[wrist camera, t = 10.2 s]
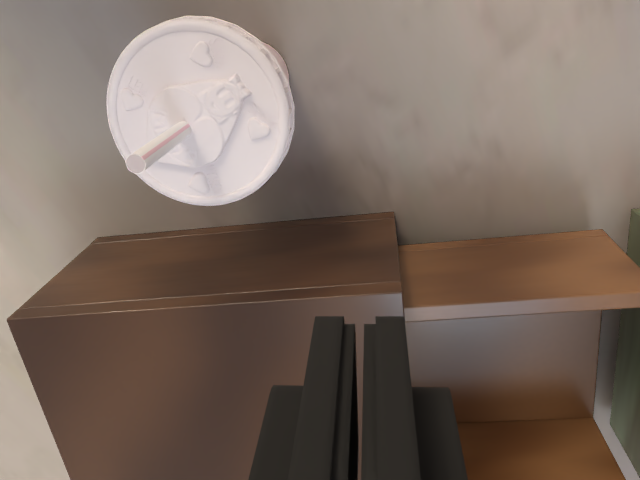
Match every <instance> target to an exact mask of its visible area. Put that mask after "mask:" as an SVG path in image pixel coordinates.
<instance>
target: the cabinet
mask: <svg viewBox="0 0 640 480" xmlns="http://www.w3.org/2000/svg"><path fill="white" fill-rule="evenodd" d="M316 316H344V322H345V324H355V332H356V366H357V400H358V436H359V451H358V480H361V459H362V407H363V356H364V324H376V319H375V316H404V319H405V313H404V300H403V289H402V280H401V271H400V262H399V253H398V243H397V234H396V225H395V216H394V212H384V213H373V214H362V215H350V216H339V217H327V218H316V219H304V220H293V221H282V222H270V223H259V224H247V225H236V226H224V227H213V228H202V229H190V230H179V231H167V232H156V233H144V234H133V235H122V236H110V237H99V238H97V239H96V240H94V241H93V242H92V243H91V244H90V245H89V246H88V247H87V248H86V249H85V250H84V251H82V252H81V253H80V254H79V255H78V256H77V257H76V258H75V259H74V260H72V261H71V262H70V263H69V264H68V265H67V266H66V267H65V268H64V269H62V270H61V271H60V272H59V273H58V274H57V275H56V276H55V277H53V278H52V279H51V280H50V281H49V282H48V283H47V284H46V285H45V286H43V287H42V288H41V289H40V290H39V291H38V292H37V293H36V294H35V295H33V296H32V297H31V298H30V299H29V300H28V301H27V302H26V303H24V304H23V305H22V306H21V307H20V308H19V309H18V310H16V311H15V312H14V313H13V314H12V315H11V316H10V317H9V318H7V322H8V325H9V327H10V330H11V332H12V335H13V337H14V340H15V342H16V345H17V347H18V350H19V352H20V355H21V357H22V360H23V362H24V365H25V367H26V370H27V372H28V375H29V377H30V380H31V382H32V385H33V387H34V390H35V392H36V395H37V397H38V400H39V402H40V405H41V407H42V410H43V412H44V415H45V417H46V419H47V422H48V424H49V427H50V429H51V432H52V434H53V437H54V439H55V442H56V444H57V447H58V449H59V452H60V454H61V457H62V459H63V462H64V464H65V467H66V469H67V472H68V474H69V477H70V479H71V480H248V479H249V475H250V471H251V467H252V463H253V459H254V455H255V451H256V447H257V443H258V439H259V435H260V430H261V426H262V422H263V418H264V414H265V410H266V406H267V402H268V398H269V394H270V391H271V388H272V387H273V385H298V386H303V385H304V379H305V373H306V367H307V361H308V355H309V349H310V343H311V338H312V332H313V326H314V320H315V317H316ZM405 328H406V327H405Z"/></svg>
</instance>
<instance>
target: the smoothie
mask: <svg viewBox="0 0 640 480" xmlns="http://www.w3.org/2000/svg"><path fill="white" fill-rule="evenodd" d="M106 107H107V117H108V123H109V127H110V131H111V134H112V137H113V139H114V142H115V144H116V146H117V148H118V150H119V152H120V154H121V155H122V157H123V158H124V160H125V161H126V167H127V168H128V170H129V171H130V172H132V173H135V174H136V175H137V176H138V177H139V178H140V179H142V180H143V181H144V182H145V183H146V184H147V185H149V186H150V187H151V188H153V189H154V190H156V191H158V192H159V193H161V194H163V195H165V196H167V197H169V198H171V199H174V200H176V201H180V202H183V203H187V204H191V205H199V206H217V205H224V204H228V203H232V202H235V201H238V200H240V199H243V198H245V197H247V196H249V195H250V194H252V193H253V192H255V191H256V190H258V189H259V188H260V187H261V186H263V185H264V184H265V183H266V182H267V181H268V180H269V178H270V177H271V176H272V175H273V174H274V173H275V172H276V171H277V169H278V168H279V166H280V164H281V163H282V161H283V160H284V158H285V156H286V155H287V153H288V150H289V147H290V143H291V140H292V136H293V133H294V110H295V105H294V101H293V97H292V93H291V89H290V85H289V73H288V69H287V66H286V63H285V61H284V60H283V58H282V56H281V55H280V54H279V53H278V52H277V51H276V50H275V49H274V48H273V47H271V46H270V45H268V44H266V43H264V42H261V41H260V40H259V39H258V38H256V37H255V36H253V35H252V34H250V33H249V32H247V31H246V30H244V29H243V28H241V27H239V26H238V25H236V24H234V23H230V22H227V21H224V20H221V19H218V18H215V17H212V16H183V17H179V18H175V19H171V20H167V21H164V22H161V23H160V24H157V25H155V26H153V27H151V28H149V29H147V30H145V31H144V32H142V33H141V34H139V35H138V36H137V37H135V38H134V39H133V40H132V41H131V42H130V43H129V44H128V45H127V46H126V48H125V49H124V50H123V51H122V53H121V54H120V56H119V57H118V59H117V61H116V63H115V65H114V67H113V70H112V72H111V75H110V79H109V83H108V88H107V98H106Z"/></svg>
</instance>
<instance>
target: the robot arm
mask: <svg viewBox="0 0 640 480" xmlns="http://www.w3.org/2000/svg"><path fill="white" fill-rule="evenodd" d="M375 319H376V324H364V356H363V407H362V459H361V480H468V478H467V473H466V467H465V462H464V457H463V452H462V447H461V442H460V437H459V432H458V427H457V422H456V417H455V412H454V406H453V401H452V396H451V392H450V389H449V388H448V387H411V377H410V368H409V358H408V348H407V338H406V328H405V319H404V316H375ZM358 451H359V436H358V400H357V366H356V332H355V324H345V322H344V316H316V317H315V320H314V326H313V332H312V338H311V343H310V349H309V355H308V361H307V367H306V373H305V379H304V385H303V386H298V385H273V387H272V388H271V391H270V394H269V398H268V402H267V406H266V410H265V414H264V418H263V422H262V426H261V430H260V435H259V439H258V443H257V447H256V451H255V455H254V459H253V463H252V467H251V471H250V475H249V479H248V480H358Z"/></svg>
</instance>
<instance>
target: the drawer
mask: <svg viewBox="0 0 640 480" xmlns="http://www.w3.org/2000/svg"><path fill="white" fill-rule="evenodd" d="M398 253H399V262H400V271H401V280H402V289H403V300H404V313H405V327H406V338H407V348H408V358H409V368H410V377H411V387H448V388H449V389H450V392H451V396H452V401H453V406H454V412H455V417H456V422H457V427H458V432H459V437H460V442H461V447H462V452H463V457H464V462H465V467H466V473H467V478H468V480H626V479H625V477H624V475H623V474H622V472H621V470H620V468H619V466H618V464H617V462H616V460H615V458H614V456H613V455H612V453H611V451H610V449H609V447H608V445H607V443H606V441H605V439H604V437H603V436H602V434H601V432H600V430H599V428H598V426H597V424H596V422H595V420H594V418H593V411H594V399H595V387H596V376H597V364H598V352H599V340H600V328H601V316H602V310H611V309H621V318H620V328H619V338H618V348H617V358H616V368H615V378H614V388H613V398H612V408H611V418H610V425H611V427H612V429H613V430H614V432H615V434H616V436H617V438H618V439H619V441H620V443H621V445H622V447H623V448H624V450H625V452H626V454H627V456H628V457H629V459H630V461H631V463H632V465H633V466H634V468H635V470H636V472H637V474H638V475H639V477H640V209H631V217H630V227H629V237H628V247H627V254H626V253H625V252H624V251H623V250H622V249H621V248H620V247H619V246H618V245H617V244H616V243H615V242H614V241H613V240H612V239H611V238H610V237H609V236H608V234H607V233H606V232H605V231H604V230H603V229H599V230H586V231H574V232H561V233H549V234H536V235H524V236H511V237H499V238H486V239H474V240H461V241H449V242H436V243H424V244H411V245H399V246H398Z"/></svg>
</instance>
